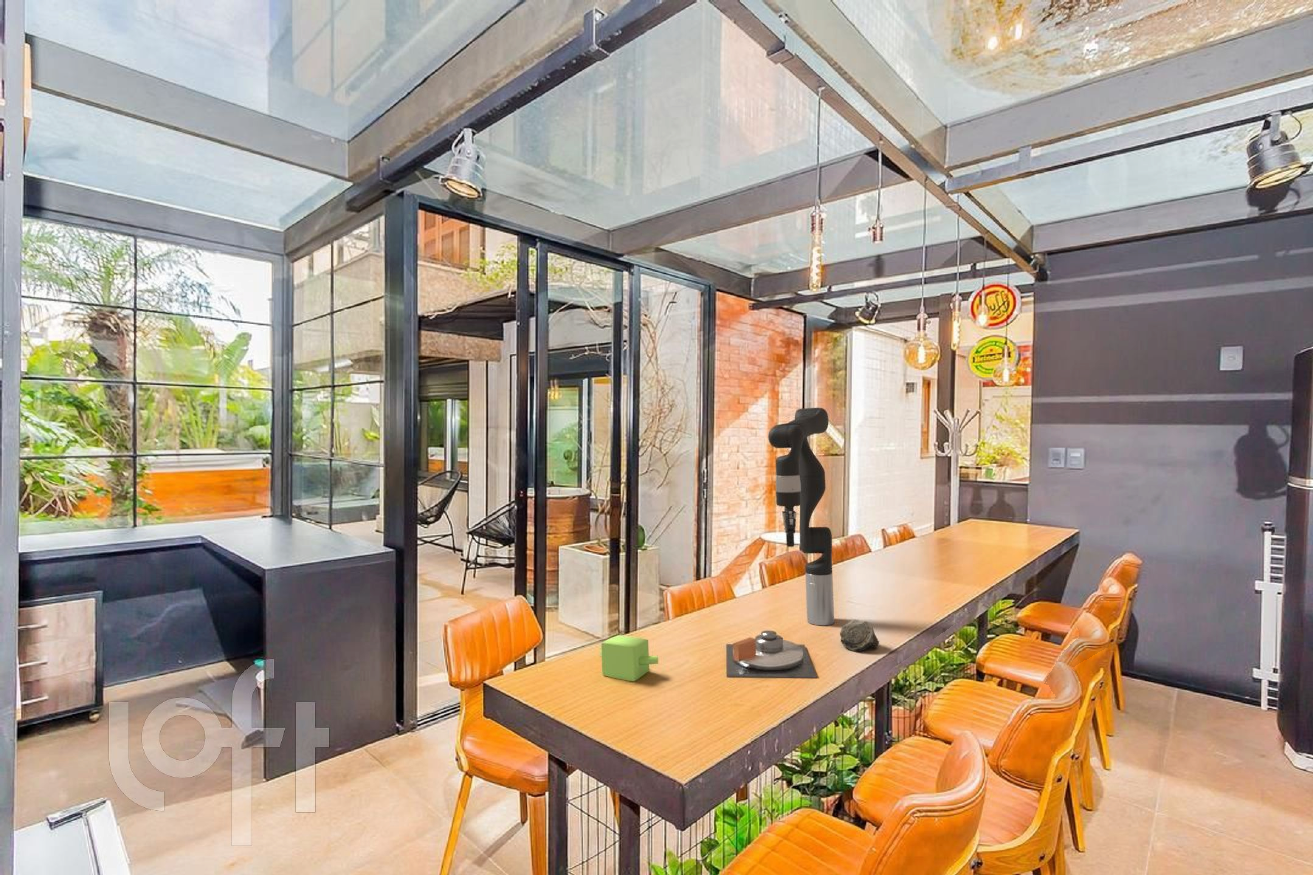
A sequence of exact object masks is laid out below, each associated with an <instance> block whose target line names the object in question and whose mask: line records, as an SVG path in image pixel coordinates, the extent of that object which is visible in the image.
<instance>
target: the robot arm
mask: <svg viewBox="0 0 1313 875" xmlns="http://www.w3.org/2000/svg"><path fill="white" fill-rule="evenodd" d="M828 428H829V415H828V412H827V410H826V409H825V408H823V407H806V408H805V407H804V408H798V409H797V410H796V411H795V414H794V419H793V420H791V421H789V422H787V423H780V424H776V425H774V426H772V427H771V428H770V430H769V432H768V434H767V435H768V437H767V438H768V442H769V444H770V445H771V447H773V448H775V449H790V450H789V453H788V454H785V455H781V456H778V457H776V459H775V500H776V501H775V503H776V506H777V507H784V508H783V510H782V511H781V515H782V519H783V526H784V529H783V530H784V533H785V540H786V541H785V542H786V546H787V547H789V548H794V547H795V534H796V526H797V522H796V521H797V511H796V510H795V509H794V508H795V507H799V548H800V550H801V552H802V553H804V554H821V556H820V557H818V558H817V559H815V560H812V561H810V562H808V563H806V564H805V566H804V574H805V576H804V577H805V597H806V598H805V599H806V621H807V622H808V623H809V624H811V625H816V626H830V625H834V623H835V610H834V609H835V607H834V606H835V605H834V604H835V603H834V582H833V581H834V580H833V579H834V578H833V536H832V534H833V533H832V531H831V528H829V527H827V526H810V522H811V519H812V516H813V513H814V511H815V510H816V508H817V506H818V504H819V503H820V501H821V499H823V496H824V495H825V492H826V471H825V469H824V467H823V465H822V464H821V462H820V460H819V459H818V457H816V455H815V453H814V452H813V450H812V448H811V446H810V444H809V441H808V437H810V436H812V435H816V434H817V435H818V434H823V433H825V432H826V431H827V430H828Z"/></svg>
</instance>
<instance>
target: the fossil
mask: <svg viewBox="0 0 1313 875" xmlns="http://www.w3.org/2000/svg"><path fill="white" fill-rule="evenodd" d="M839 635H840V642H841V644H842V646H843V647H844V648H845V649H847V650H849V651H852V652H862V651H864V650H867V649H868V648H869V647H872V648H873V649H878V647H879V645H880V640H878V638H877V635H876V633H875V631H874V628H873V625H872V623H871V622H870V621H867V620H858V619H852V620H849V622H848V623H846V624H843V626H841V630H840V632H839Z"/></svg>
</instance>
